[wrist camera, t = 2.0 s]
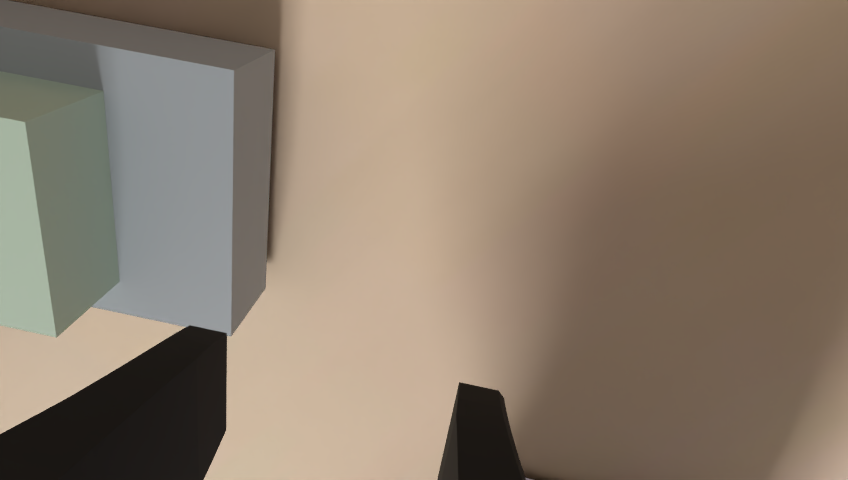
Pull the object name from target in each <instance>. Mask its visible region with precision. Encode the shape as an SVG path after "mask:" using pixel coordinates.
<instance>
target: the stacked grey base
mask: <svg viewBox="0 0 848 480" xmlns="http://www.w3.org/2000/svg"><path fill="white" fill-rule="evenodd" d="M274 63H275V49H269V48H264V47H258V46H253V45H248V44H242V43H237V42H231V41H226V40H221V39H215V38H210V37H204V36H199V35H194V34H188V33H183V32H177V31H172V30H167V29H161V28H156V27H150V26H145V25H140V24H134V23H129V22H123V21H118V20H113V19H107V18H102V17H96V16H91V15H86V14H80V13H75V12H69V11H64V10H58V9H53V8H48V7H42V6H37V5H31V4H26V3H21V2H15V1H10V0H0V325H1V326H6V327H10V328H15V329H19V330H24V331H29V332H33V333H38V334H43V335H47V336H52V337H58V336H59V335H60V334H61V333H62V332H63V331H64V330H65V329H67V328H68V327H69V326H70V325H71V324H72V323H73V322H74V321H76V320H77V319H78V318H79V317H80V316H81V315H82V314H84V313H85V312H86V311H87V310H88V309H89V308H90V307H94V308H99V309H104V310H109V311H113V312H118V313H123V314H127V315H132V316H137V317H142V318H146V319H151V320H156V321H160V322H165V323H170V324H175V325H179V326H184V327H188V326H189V325H191V326H196V327H201V328H205V329H210V330H215V331H219V332H224V333H227V336H232V335H233V333H234V332H235V330H236V329H237V328H238V326H239V325H240V323H241V322H242V320H243V319H244V318H245V316H246V315H247V313H248V312H249V311H250V309H251V308H252V306H253V305H254V304H255V302H256V301H257V299H258V298H259V297H260V295H261V294H262V292H263V291H264V289H265V287H266V262H267V237H268V213H269V188H270V163H271V138H272V113H273V88H274Z"/></svg>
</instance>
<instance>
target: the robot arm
mask: <svg viewBox="0 0 848 480" xmlns="http://www.w3.org/2000/svg"><path fill="white" fill-rule="evenodd" d="M226 373H227V333H224V332H219V331H215V330H210V329H205V328H201V327H196V326H191V325H189V326H188V327H186V328H184V329H182V330H181V331H179V332H177V333H175V334H174V335H172V336H170V337H169V338H167V339H165V340H164V341H162V342H161V343H159V344H157V345H156V346H154V347H152V348H151V349H149V350H147V351H146V352H144V353H143V354H141V355H139V356H138V357H136V358H134V359H133V360H131V361H129V362H128V363H126V364H124V365H123V366H121V367H120V368H118V369H116V370H115V371H113V372H111V373H109V374H108V375H106V376H104V377H103V378H101V379H99V380H98V381H96V382H94V383H92V384H91V385H89V386H87V387H86V388H84V389H82V390H81V391H79V392H77V393H76V394H74V395H72V396H70V397H69V398H67V399H65V400H63V401H61V402H60V403H58V404H56V405H54V406H52V407H50V408H48V409H46V410H45V411H43V412H41V413H39V414H37V415H35V416H33V417H32V418H30V419H28V420H26V421H24V422H22V423H20V424H19V425H17V426H15V427H13V428H11V429H9V430H7V431H6V432H4V433H2V434H0V480H203V479H204V477H205V475H206V473H207V471H208V469H209V467H210V465H211V463H212V460H213V458H214V456H215V454H216V451H217V449H218V447H219V445H220V442H221V440H222V438H223V436H224V433H225V431H226ZM438 480H533V479H529V478H525V475H524V472H523V469H522V466H521V463H520V460H519V456H518V453H517V450H516V447H515V443H514V440H513V436H512V433H511V429H510V425H509V421H508V417H507V412H506V407H505V402H504V398H503V396H502V395H501V393H500V392H499V391H498V390H493V389H488V388H483V387H479V386H474V385H469V384H465V383H460V382H459V386H458V391H457V395H456V400H455V404H454V408H453V413H452V417H451V422H450V426H449V431H448V435H447V439H446V444H445V448H444V453H443V457H442V462H441V466H440V471H439V475H438Z"/></svg>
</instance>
